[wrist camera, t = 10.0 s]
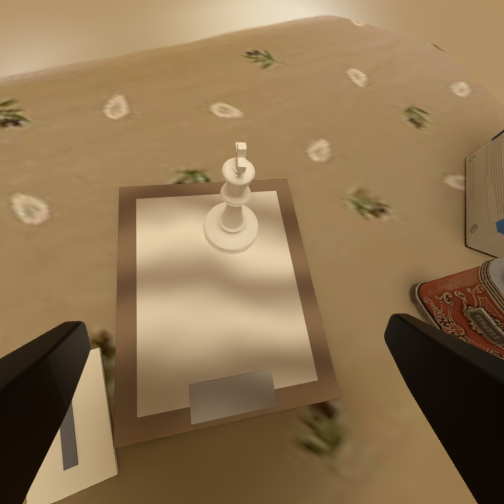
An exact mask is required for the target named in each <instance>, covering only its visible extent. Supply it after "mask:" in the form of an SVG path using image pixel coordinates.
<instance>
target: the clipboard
mask: <svg viewBox="0 0 504 504" xmlns="http://www.w3.org/2000/svg"><path fill="white" fill-rule="evenodd" d="M225 183H226V182H211V183H191V184H171V185H151V186H131V187H119V225H118V269H117V314H116V358H115V403H114V448H113V449H115V448H119V447H124V446H128V445H132V444H137V443H141V442H146V441H150V440H155V439H159V438H164V437H168V436H172V435H177V434H181V433H186V432H190V431H195V430H199V429H204V428H208V427H213V426H217V425H221V424H226V423H230V422H235V421H239V420H244V419H248V418H253V417H257V416H262V415H266V414H270V413H275V412H279V411H284V410H288V409H293V408H297V407H302V406H306V405H311V404H315V403H319V402H324V401H328V400H333V399H337V398H340V395H339V391H338V387H337V383H336V378H335V374H334V370H333V366H332V362H331V358H330V354H329V350H328V346H327V341H326V337H325V333H324V329H323V325H322V321H321V317H320V313H319V308H318V304H317V300H316V296H315V292H314V288H313V284H312V280H311V276H310V271H309V267H308V263H307V259H306V255H305V251H304V247H303V243H302V239H301V234H300V230H299V226H298V222H297V218H296V214H295V210H294V206H293V202H292V197H291V193H290V189H289V185H288V181H287V179H271V180H252V182H251V183H250V184H249V185H248V186H249V188H250V191H251V198H250V200H249V202H248V203H247V204H245V206H247V207H248V208H249V209H250V210H251V211H252V212H253V213H254V214H255V216H256V218H257V221H258V236H257V239H256V241H255V243H254V244H253V245H252V246H251V247H250V248H249V249H247V250H246V251H244V252H241V253H237V254H227V253H223V252H220V251H218V250H216V249H215V248H213V247H212V246H211V245H210V244H209V243H208V241H207V240H206V238H205V235H204V229H203V227H204V221H205V218H206V215H207V214H208V212H209V211H210V210H211V209H212V208H213V207H214V206H216V205H218V204H220V203H224V201H223V200H222V198H221V195H220V191H221V188H222V186H223V185H224V184H225Z"/></svg>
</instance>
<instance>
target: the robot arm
mask: <svg viewBox="0 0 504 504" xmlns="http://www.w3.org/2000/svg"><path fill="white" fill-rule="evenodd" d="M384 339H385V342H386V344H387V346H388V348H389V350H390V352H391V354H392V356H393V358H394V360H395V362H396V364H397V367H398V369H399V371H400V373H401V375H402V377H403V379H404V381H405V383H406V385H407V387H408V388H409V390H410V392H411V394H412V395H413V397H414V399H415V400H416V402H417V404H418V405H419V407H420V409H421V410H422V412H423V414H424V415H425V417H426V419H427V420H428V422H429V424H430V425H431V427H432V429H433V430H434V432H435V434H436V435H437V437H438V439H439V440H440V442H441V444H442V445H443V447H444V449H445V450H446V452H447V454H448V455H449V457H450V459H451V460H452V462H453V463H454V465H455V467H456V468H457V470H458V472H459V473H460V475H461V477H462V478H463V480H464V482H465V483H466V485H467V487H468V488H469V490H470V492H471V493H472V495H473V497H474V498H475V500H476V502H477V503H478V504H504V360H503V359H501V358H499V357H497V356H495V355H493V354H490V353H488V352H486V351H484V350H482V349H480V348H478V347H476V346H474V345H472V344H469V343H467V342H465V341H463V340H461V339H459V338H457V337H455V336H453V335H451V334H448V333H446V332H444V331H442V330H440V329H438V328H436V327H434V326H432V325H430V324H427V323H425V322H423V321H421V320H419V319H417V318H415V317H413V316H411V315H409V314H405V313H399V314H393V315H392V316H391V317H390V319H389V322H388V325H387V328H386V330H385V333H384ZM90 348H91V345H90V340H89V336H88V332H87V328H86V325H85V323H84V322H82V321H67V322H64V323H62V324H60V325H59V326H57V327H55V328H53V329H52V330H50V331H48V332H46V333H44V334H43V335H41V336H39V337H37V338H36V339H34V340H32V341H30V342H29V343H27V344H25V345H23V346H22V347H20V348H18V349H16V350H15V351H13V352H11V353H9V354H8V355H6V356H4V357H2V358H1V359H0V504H23V502H24V500H25V497H26V495H27V493H28V491H29V489H30V487H31V485H32V483H33V481H34V479H35V477H36V475H37V473H38V471H39V469H40V467H41V465H42V463H43V461H44V459H45V457H46V455H47V453H48V451H49V449H50V447H51V445H52V443H53V441H54V439H55V437H56V435H57V432H58V430H59V428H60V426H61V424H62V422H63V420H64V418H65V416H66V414H67V412H68V409H69V407H70V404H71V402H72V399H73V396H74V394H75V391H76V388H77V386H78V383H79V380H80V378H81V375H82V372H83V370H84V367H85V364H86V362H87V359H88V356H89V353H90Z"/></svg>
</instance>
